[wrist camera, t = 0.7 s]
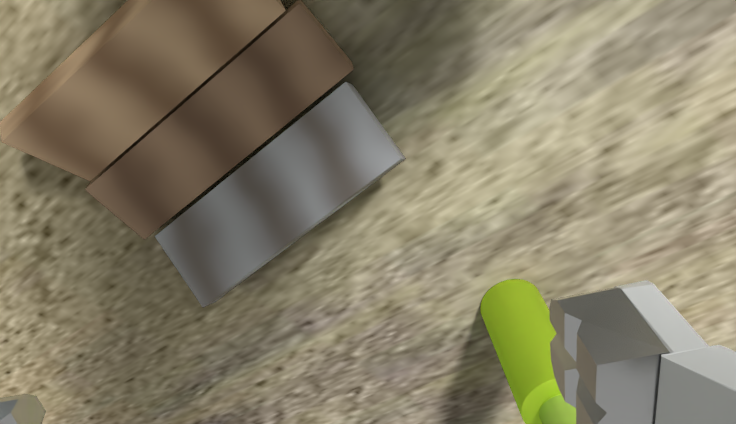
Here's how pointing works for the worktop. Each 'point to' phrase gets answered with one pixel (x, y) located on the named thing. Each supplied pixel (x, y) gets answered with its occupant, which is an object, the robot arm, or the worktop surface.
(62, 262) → the worktop surface
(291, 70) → the walnut strip
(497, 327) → the soap dispenser
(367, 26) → the worktop surface
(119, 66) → the smoked oak plank
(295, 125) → the grey plank
